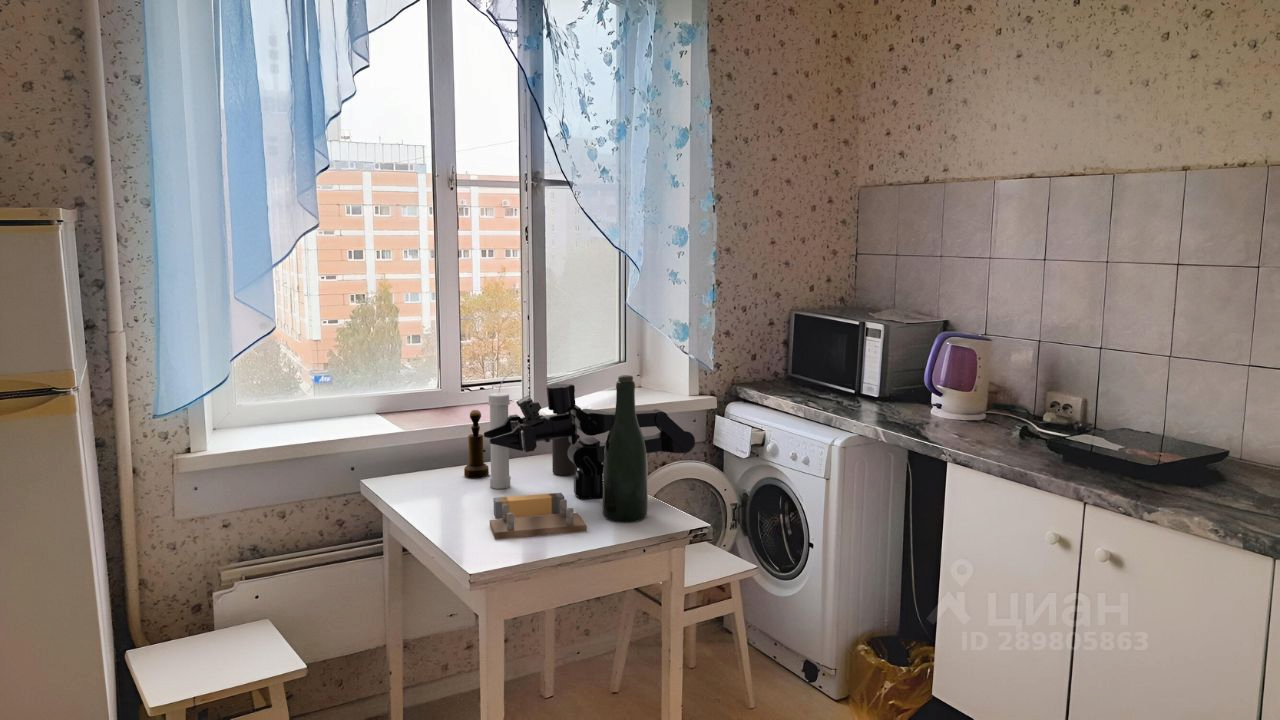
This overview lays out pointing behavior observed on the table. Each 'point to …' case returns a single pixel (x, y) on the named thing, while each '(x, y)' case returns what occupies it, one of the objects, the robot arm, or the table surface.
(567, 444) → the vinegar
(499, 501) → the bar
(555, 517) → the rack
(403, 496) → the table surface
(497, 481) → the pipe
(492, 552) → the table surface
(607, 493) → the green wine bottle
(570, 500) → the table surface
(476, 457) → the pepper mill
